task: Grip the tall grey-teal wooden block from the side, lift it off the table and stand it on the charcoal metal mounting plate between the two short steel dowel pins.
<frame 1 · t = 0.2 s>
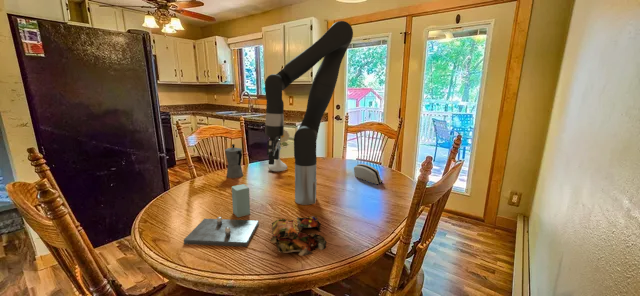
hand: (273, 161, 114), 18 cm above the table, tool pointing down, fingers open, 8 cm apart
coffeepot: (235, 176, 148), on the table
food: (297, 238, 89), on the table
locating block: (241, 213, 105), on the table
napkin holder: (366, 180, 146), on the table
mounting plate: (224, 233, 90), on the table
flower in vase: (279, 170, 160), on the table
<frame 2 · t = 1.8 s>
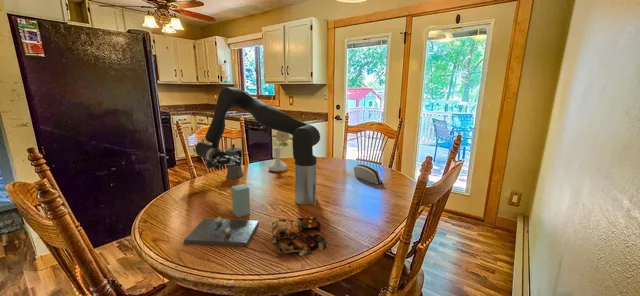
hand: (229, 165, 110), 17 cm above the table, tool horizontal, fingers open, 8 cm apart
nothing on the table moved.
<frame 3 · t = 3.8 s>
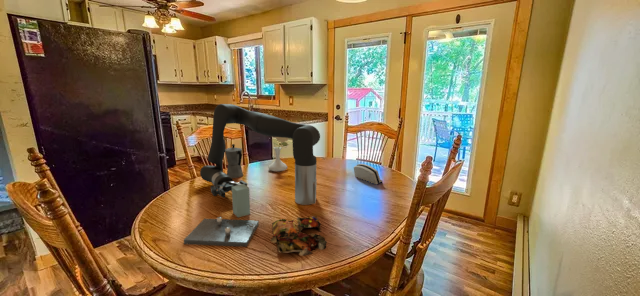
hand: (235, 193, 108), 6 cm above the table, tool horizontal, fingers open, 8 cm apart
nothing on the table moved.
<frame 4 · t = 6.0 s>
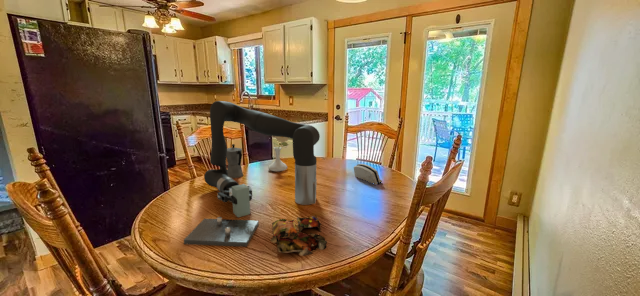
hand: (243, 200, 101), 7 cm above the table, tool horizontal, fingers closed on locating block, 5 cm apart
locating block: (241, 213, 105), on the table, touching gripper
everything else where it was.
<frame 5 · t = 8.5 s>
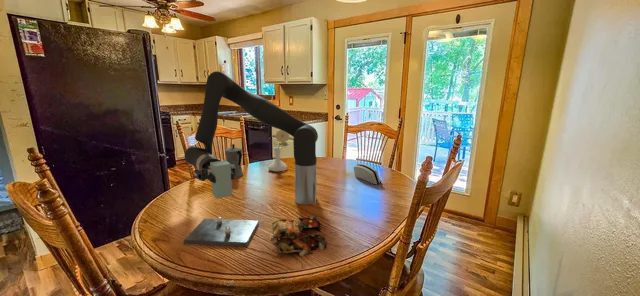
hand: (223, 178, 85), 20 cm above the table, tool horizontal, fingers closed on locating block, 5 cm apart
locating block: (222, 194, 89), point 13 cm above the table, touching gripper
everything else where it was.
when the fingers open (9 cm above the table, at t = 11.1 s): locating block drops 1 cm, resting on mounting plate.
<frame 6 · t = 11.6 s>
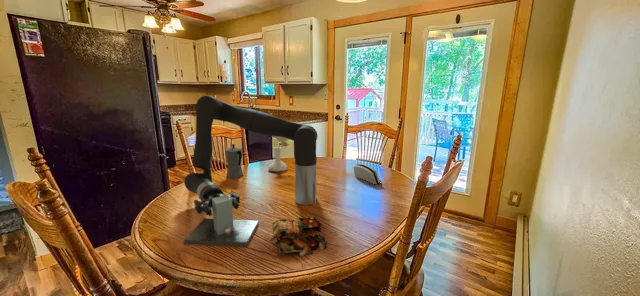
hand: (224, 209, 86), 10 cm above the table, tool horizontal, fingers open, 8 cm apart
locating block: (223, 229, 90), point 1 cm above the table, touching mounting plate
everything else where it was.
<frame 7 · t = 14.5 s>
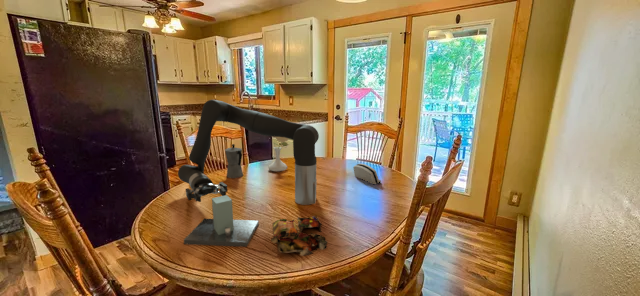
hand: (212, 196, 97), 10 cm above the table, tool horizontal, fingers open, 8 cm apart
nothing on the table moved.
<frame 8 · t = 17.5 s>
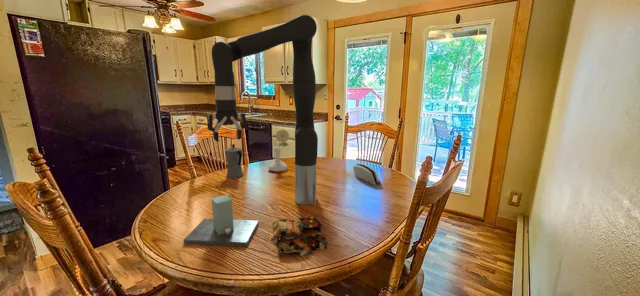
hand: (228, 140, 105), 28 cm above the table, tool pointing down, fingers open, 8 cm apart
nothing on the table moved.
at the end: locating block 0.1 cm off-centre on the mounting plate, point 1.5 cm above the mounting plate's base; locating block tilted 0°; the gripper is holding nothing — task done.
